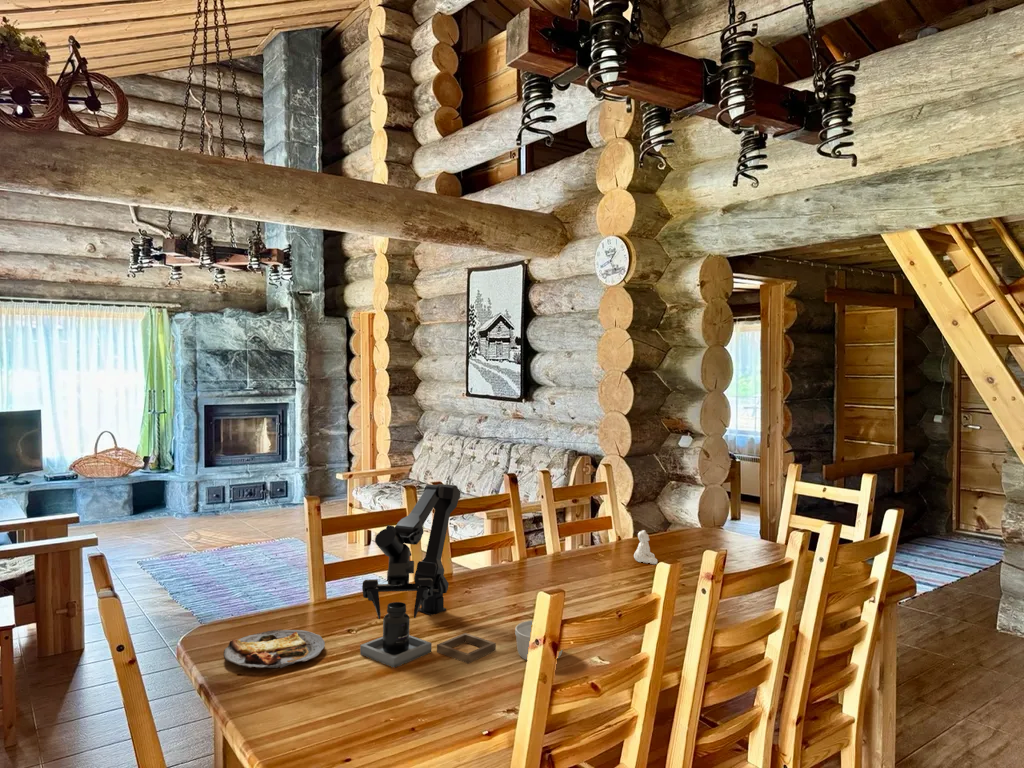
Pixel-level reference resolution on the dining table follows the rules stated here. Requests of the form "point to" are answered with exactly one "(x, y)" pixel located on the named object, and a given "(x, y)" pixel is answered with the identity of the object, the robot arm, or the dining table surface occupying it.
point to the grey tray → (415, 651)
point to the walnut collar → (462, 656)
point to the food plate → (273, 648)
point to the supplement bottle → (396, 629)
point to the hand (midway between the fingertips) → (397, 617)
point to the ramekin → (524, 638)
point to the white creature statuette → (644, 549)
